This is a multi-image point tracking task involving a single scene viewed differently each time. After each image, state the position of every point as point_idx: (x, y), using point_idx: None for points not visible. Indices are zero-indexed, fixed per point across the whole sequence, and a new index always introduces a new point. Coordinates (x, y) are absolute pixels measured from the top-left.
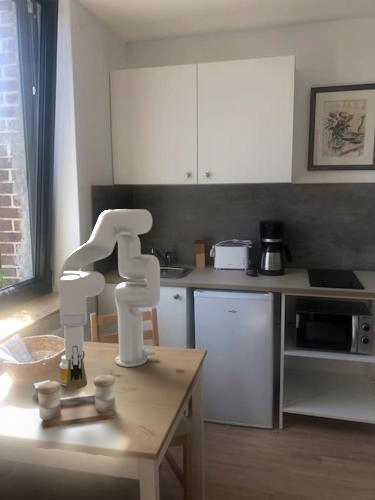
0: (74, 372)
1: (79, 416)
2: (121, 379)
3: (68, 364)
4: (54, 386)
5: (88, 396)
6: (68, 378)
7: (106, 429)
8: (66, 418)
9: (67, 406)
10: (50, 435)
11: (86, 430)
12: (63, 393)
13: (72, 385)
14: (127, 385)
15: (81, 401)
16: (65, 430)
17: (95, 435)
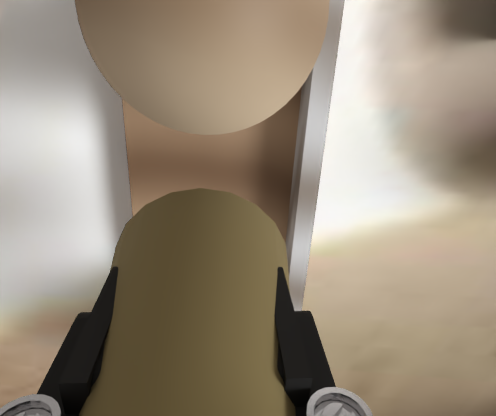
0: (49, 386)
1: (148, 186)
2: (469, 358)
3: (168, 391)
4: (172, 79)
5: (291, 251)
6: (145, 255)
7: (60, 278)
8: (143, 119)
9: (279, 129)
10: (37, 21)
11: (63, 202)
12: (488, 106)
13: (116, 253)
14: (402, 372)
15: (291, 206)
16: (78, 105)
17: (15, 235)
